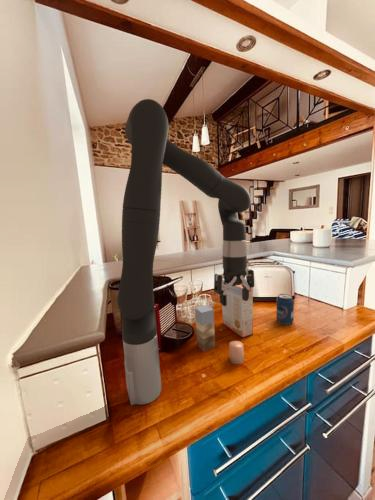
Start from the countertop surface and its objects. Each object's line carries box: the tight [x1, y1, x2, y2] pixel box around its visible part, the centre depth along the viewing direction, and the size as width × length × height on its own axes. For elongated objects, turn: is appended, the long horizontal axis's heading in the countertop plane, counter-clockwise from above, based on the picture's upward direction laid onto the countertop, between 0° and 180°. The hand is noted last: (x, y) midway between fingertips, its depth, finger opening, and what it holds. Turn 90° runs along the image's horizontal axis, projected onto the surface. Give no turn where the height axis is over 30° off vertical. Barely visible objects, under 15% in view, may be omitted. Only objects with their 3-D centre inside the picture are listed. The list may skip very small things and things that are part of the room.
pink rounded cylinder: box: [228, 340, 245, 365], centre depth 71 cm, size 5×5×6 cm
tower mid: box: [195, 320, 216, 339], centre depth 79 cm, size 5×5×5 cm
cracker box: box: [221, 278, 254, 338], centre depth 90 cm, size 14×6×21 cm, turn 25°
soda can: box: [276, 293, 295, 325], centre depth 95 cm, size 7×7×12 cm
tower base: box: [196, 333, 216, 352], centre depth 80 cm, size 5×5×5 cm
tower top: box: [194, 304, 215, 326], centre depth 79 cm, size 5×5×5 cm
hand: (234, 302), depth 70 cm, fingers open, 8 cm apart
